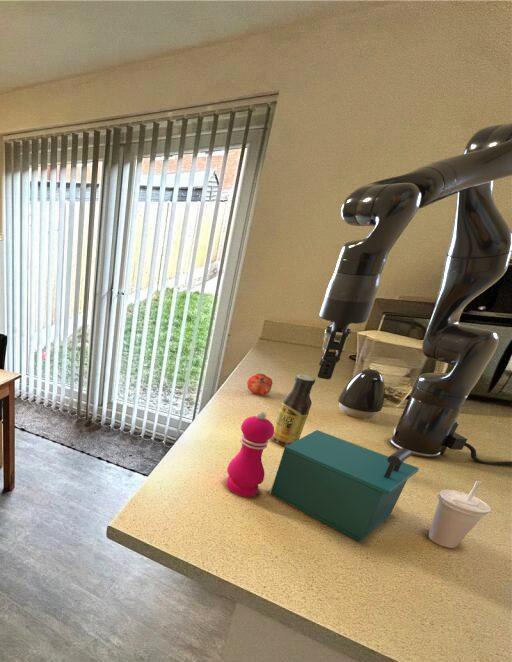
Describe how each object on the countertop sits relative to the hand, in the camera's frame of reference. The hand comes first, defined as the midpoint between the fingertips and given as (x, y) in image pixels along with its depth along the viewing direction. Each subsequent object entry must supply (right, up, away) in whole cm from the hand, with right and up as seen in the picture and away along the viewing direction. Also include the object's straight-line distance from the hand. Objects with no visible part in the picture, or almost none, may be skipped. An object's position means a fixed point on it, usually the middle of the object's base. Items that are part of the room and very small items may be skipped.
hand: (324, 372), depth 84 cm
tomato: (+21, -6, +54) cm, 59 cm away
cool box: (+2, -29, +1) cm, 29 cm away
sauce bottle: (+9, -19, +24) cm, 32 cm away
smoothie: (+16, -33, -9) cm, 37 cm away
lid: (+2, -18, -4) cm, 19 cm away
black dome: (+41, -12, +38) cm, 57 cm away
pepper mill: (-14, -27, +7) cm, 31 cm away
